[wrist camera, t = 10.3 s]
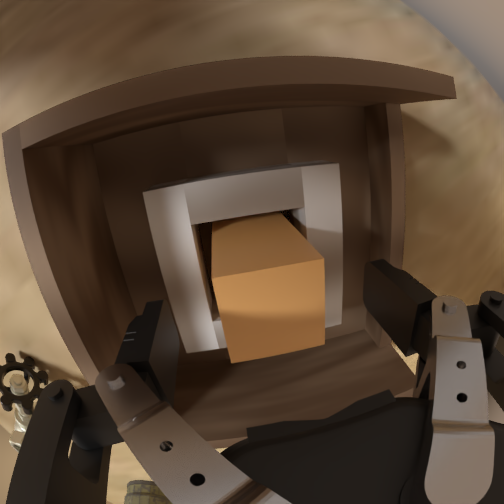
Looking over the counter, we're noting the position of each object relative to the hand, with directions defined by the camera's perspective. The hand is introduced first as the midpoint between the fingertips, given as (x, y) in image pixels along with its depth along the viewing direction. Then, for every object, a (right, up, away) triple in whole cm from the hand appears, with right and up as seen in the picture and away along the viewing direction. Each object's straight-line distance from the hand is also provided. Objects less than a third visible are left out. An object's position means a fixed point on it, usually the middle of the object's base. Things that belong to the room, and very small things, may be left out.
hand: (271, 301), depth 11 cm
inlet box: (-1, +2, +7) cm, 7 cm away
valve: (-24, -13, +10) cm, 29 cm away
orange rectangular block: (-1, +2, +7) cm, 7 cm away
